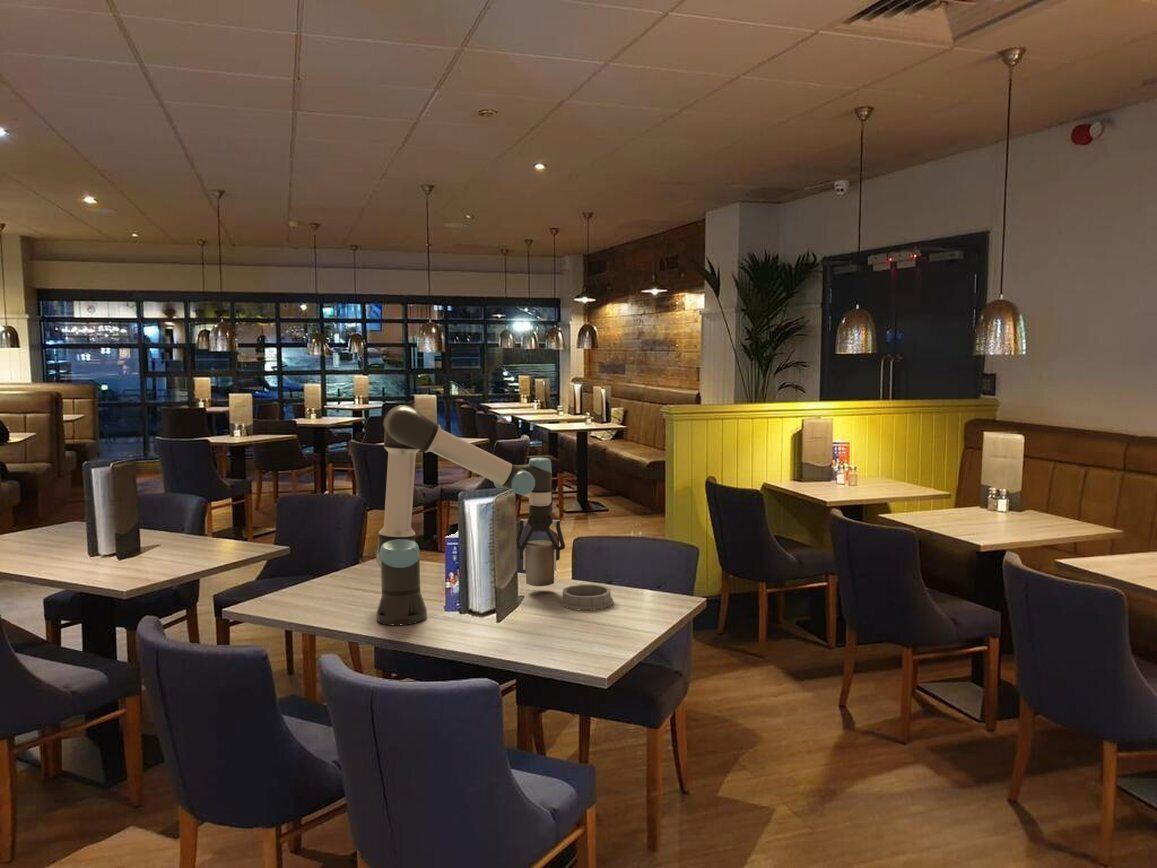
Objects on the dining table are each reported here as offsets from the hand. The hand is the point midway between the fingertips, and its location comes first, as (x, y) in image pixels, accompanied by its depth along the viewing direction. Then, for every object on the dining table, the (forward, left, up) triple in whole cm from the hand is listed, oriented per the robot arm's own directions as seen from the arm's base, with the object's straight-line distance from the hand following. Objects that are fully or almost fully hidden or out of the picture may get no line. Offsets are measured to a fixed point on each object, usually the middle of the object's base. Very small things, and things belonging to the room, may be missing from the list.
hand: (539, 569), depth 286 cm
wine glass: (+15, +30, -8) cm, 34 cm away
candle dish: (-12, -16, -8) cm, 22 cm away
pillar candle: (0, 0, -5) cm, 5 cm away
